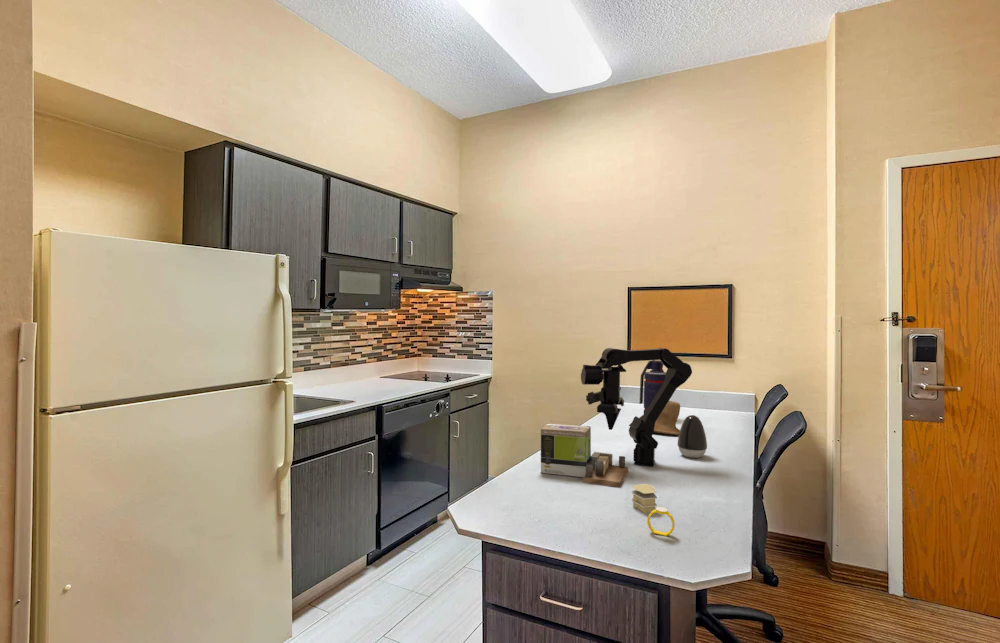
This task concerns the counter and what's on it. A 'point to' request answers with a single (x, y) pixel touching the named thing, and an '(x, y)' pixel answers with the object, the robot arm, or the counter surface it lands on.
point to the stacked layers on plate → (644, 497)
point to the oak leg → (601, 465)
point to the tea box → (565, 449)
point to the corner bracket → (596, 456)
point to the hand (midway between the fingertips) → (610, 429)
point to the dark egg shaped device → (692, 438)
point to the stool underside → (608, 474)
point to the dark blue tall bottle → (651, 382)
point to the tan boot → (668, 419)
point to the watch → (661, 511)
